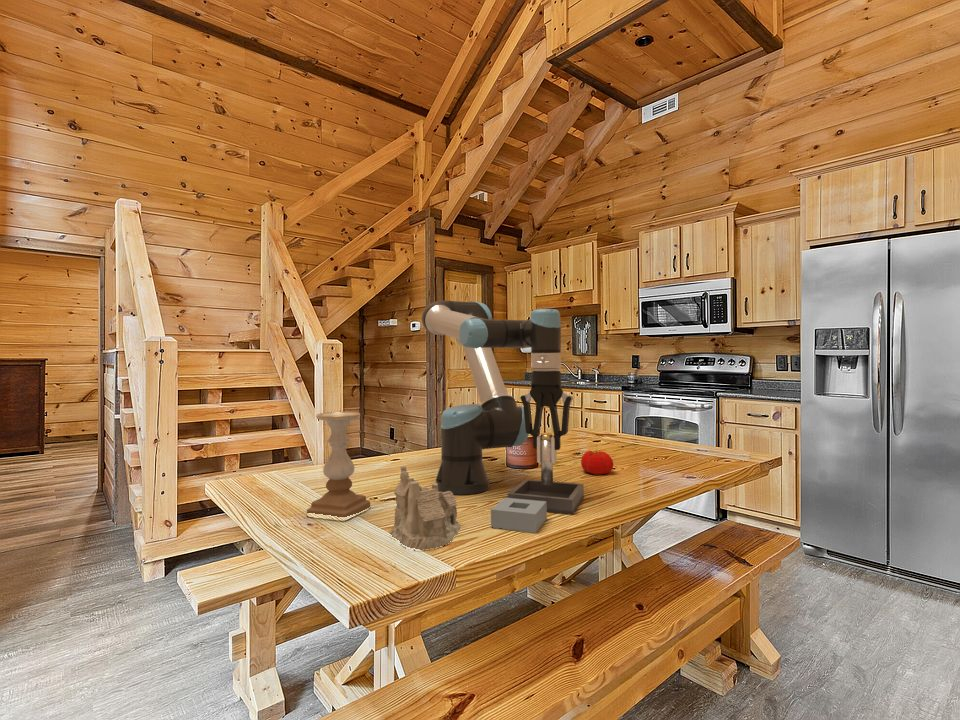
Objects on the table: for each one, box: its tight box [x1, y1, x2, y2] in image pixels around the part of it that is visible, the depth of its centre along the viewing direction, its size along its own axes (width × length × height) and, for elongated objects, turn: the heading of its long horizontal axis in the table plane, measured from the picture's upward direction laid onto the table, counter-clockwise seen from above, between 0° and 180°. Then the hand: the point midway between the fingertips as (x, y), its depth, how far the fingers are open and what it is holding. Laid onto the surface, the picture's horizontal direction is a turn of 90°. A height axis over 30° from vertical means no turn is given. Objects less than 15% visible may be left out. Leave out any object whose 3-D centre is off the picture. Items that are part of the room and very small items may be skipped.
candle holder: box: [306, 411, 371, 517], centre depth 122 cm, size 11×11×24 cm
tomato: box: [580, 450, 615, 476], centre depth 163 cm, size 10×11×7 cm
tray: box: [506, 478, 585, 516], centre depth 129 cm, size 16×16×4 cm
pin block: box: [490, 497, 548, 534], centre depth 113 cm, size 10×10×4 cm
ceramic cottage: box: [390, 464, 461, 550], centre depth 107 cm, size 16×16×15 cm
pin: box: [540, 433, 554, 485], centre depth 129 cm, size 3×3×12 cm
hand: (546, 461), depth 129 cm, fingers closed on pin, 3 cm apart
